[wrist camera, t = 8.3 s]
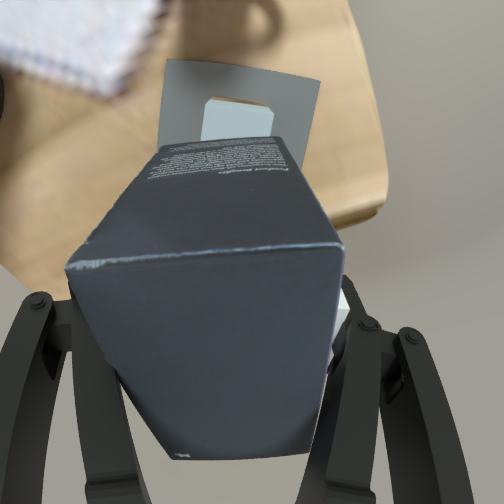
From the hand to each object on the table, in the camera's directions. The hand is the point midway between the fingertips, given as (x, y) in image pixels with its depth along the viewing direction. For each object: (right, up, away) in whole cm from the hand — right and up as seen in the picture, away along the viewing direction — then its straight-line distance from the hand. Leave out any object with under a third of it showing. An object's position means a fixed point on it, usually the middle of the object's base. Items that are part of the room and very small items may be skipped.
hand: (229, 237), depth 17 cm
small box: (0, 0, +1) cm, 1 cm away
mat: (-1, +13, +20) cm, 24 cm away
